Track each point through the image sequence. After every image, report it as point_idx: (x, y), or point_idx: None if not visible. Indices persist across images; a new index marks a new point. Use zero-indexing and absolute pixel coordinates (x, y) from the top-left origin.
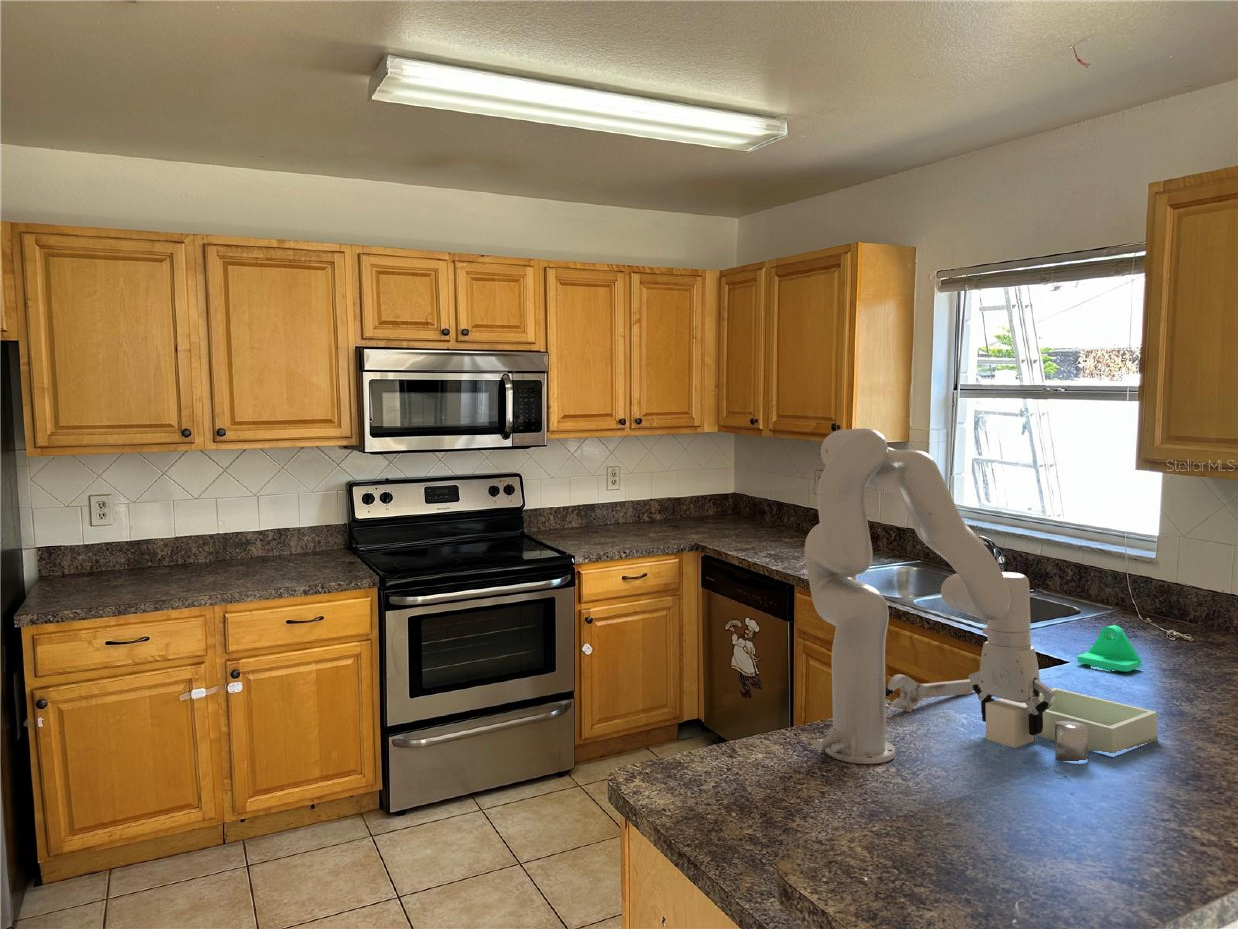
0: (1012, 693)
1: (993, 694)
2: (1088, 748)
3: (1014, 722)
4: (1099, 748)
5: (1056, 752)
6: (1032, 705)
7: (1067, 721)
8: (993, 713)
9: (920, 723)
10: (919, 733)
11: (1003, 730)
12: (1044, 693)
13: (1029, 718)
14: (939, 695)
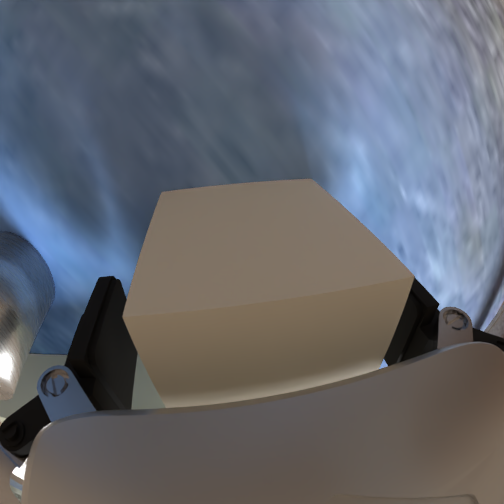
0: (155, 488)
1: (401, 375)
2: (58, 360)
3: (141, 256)
4: (33, 366)
5: (11, 250)
6: (54, 418)
7: (8, 392)
8: (322, 248)
9: (500, 144)
10: (471, 50)
11: (225, 210)
12: (2, 500)
13: (89, 337)
14: (498, 315)
